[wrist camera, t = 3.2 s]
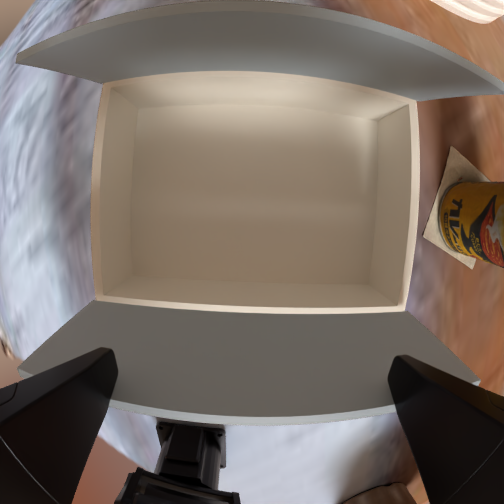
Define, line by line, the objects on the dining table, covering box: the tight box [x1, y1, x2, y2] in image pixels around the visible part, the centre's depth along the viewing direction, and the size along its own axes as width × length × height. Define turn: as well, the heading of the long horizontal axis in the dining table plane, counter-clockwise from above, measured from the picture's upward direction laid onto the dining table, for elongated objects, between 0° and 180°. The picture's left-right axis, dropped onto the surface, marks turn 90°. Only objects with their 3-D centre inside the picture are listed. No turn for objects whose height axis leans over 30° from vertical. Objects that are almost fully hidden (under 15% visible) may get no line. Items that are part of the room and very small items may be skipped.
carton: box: [91, 71, 420, 314], centre depth 16 cm, size 13×18×5 cm
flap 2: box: [17, 300, 481, 426], centre depth 10 cm, size 7×18×1 cm
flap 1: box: [16, 0, 504, 101], centre depth 8 cm, size 7×18×1 cm
